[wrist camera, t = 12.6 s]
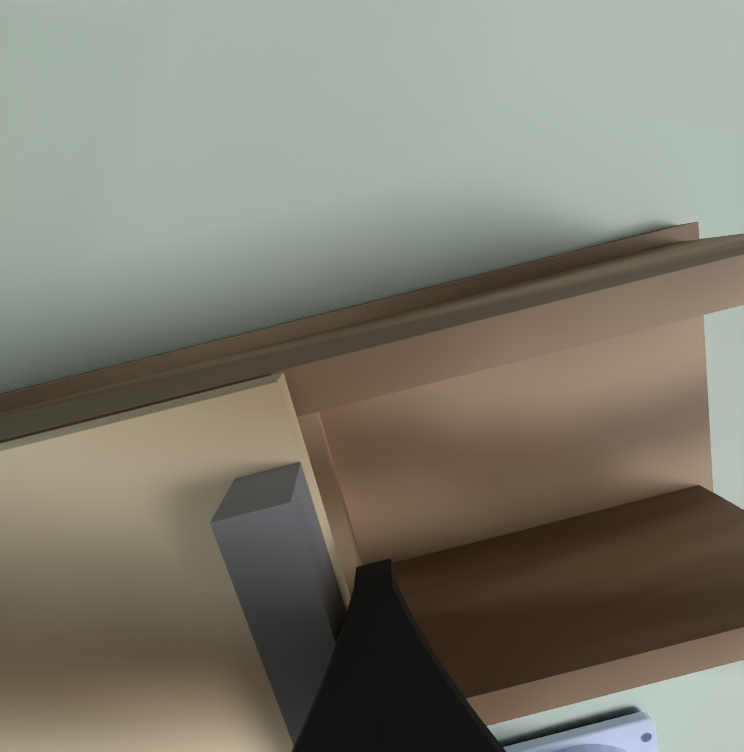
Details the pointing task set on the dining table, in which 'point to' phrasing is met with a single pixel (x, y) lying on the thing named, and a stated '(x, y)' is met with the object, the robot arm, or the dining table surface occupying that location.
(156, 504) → the lid
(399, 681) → the robot arm
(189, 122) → the dining table surface
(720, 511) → the brown wooden box
